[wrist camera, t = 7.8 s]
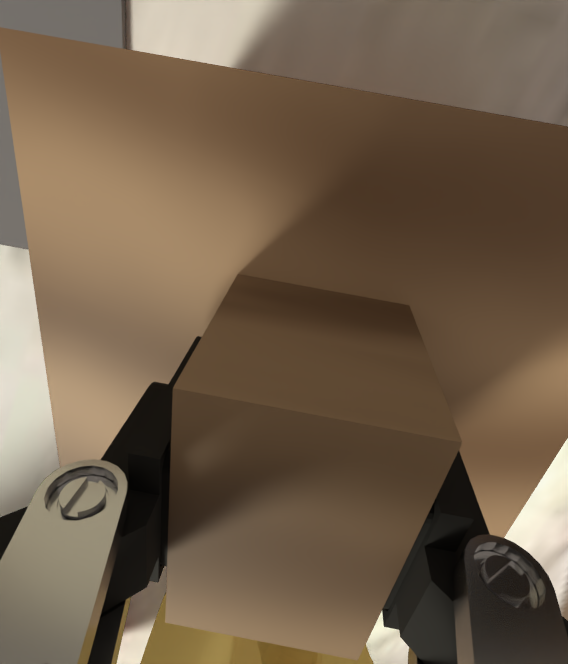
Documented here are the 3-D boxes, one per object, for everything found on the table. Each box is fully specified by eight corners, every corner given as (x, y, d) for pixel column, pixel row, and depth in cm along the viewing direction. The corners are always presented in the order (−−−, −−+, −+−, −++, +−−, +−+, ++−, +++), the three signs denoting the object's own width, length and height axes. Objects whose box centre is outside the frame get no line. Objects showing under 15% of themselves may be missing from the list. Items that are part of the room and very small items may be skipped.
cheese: (373, 574, 30) (390, 772, 21) (271, 625, 34) (250, 806, 25) (262, 495, 27) (230, 685, 18) (167, 561, 31) (104, 740, 22)
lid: (36, 35, 9) (-340, -54, 4) (695, 151, 9) (1187, 212, 4) (84, 489, 16) (-32, 669, 11) (458, 561, 15) (518, 779, 10)
